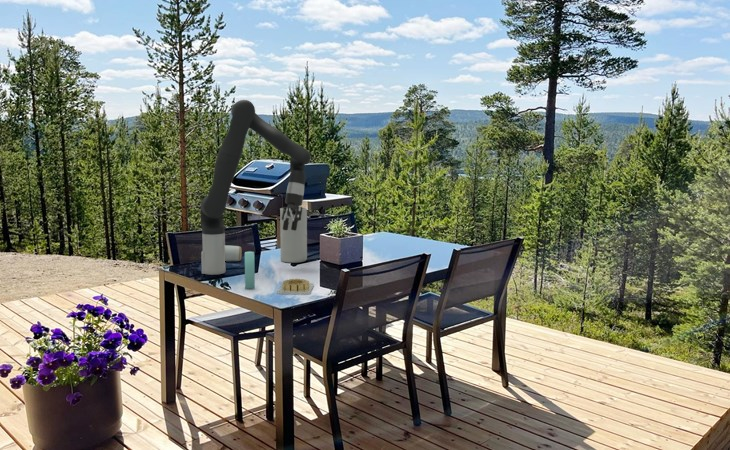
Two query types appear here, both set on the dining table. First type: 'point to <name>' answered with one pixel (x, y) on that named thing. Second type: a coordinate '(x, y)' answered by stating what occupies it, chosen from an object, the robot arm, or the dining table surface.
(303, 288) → the golden segmented cake
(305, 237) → the cylinder vase
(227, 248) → the ceramic mug
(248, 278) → the pin
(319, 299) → the dining table surface
